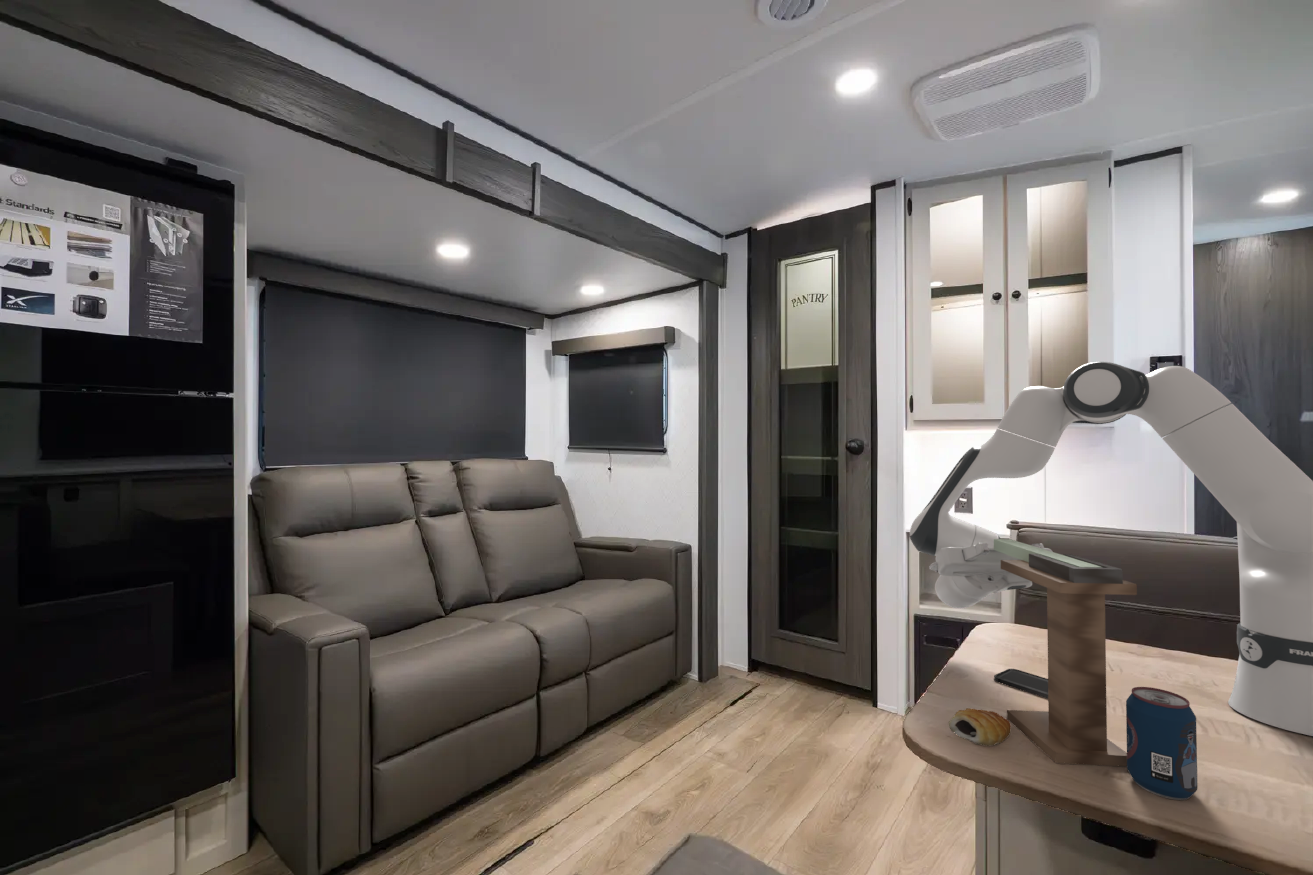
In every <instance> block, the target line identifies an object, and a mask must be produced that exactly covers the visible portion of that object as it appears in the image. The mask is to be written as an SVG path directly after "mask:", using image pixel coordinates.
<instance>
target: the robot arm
mask: <svg viewBox="0 0 1313 875" xmlns="http://www.w3.org/2000/svg"><path fill="white" fill-rule="evenodd" d="M1126 415H1132V416H1136V417H1138V418H1140V419H1142V420H1144V421H1145V422H1146V423H1147V424H1148V425H1149V426H1151V428H1152V429H1153V430H1154V431H1155V432H1156V434H1157V435H1158V436H1159V437H1160V438H1161V439H1162V440H1163V442H1165V443H1166V445H1168V447H1169V448H1170V449H1171V450H1172V451H1173V452H1174V453H1175V455H1176V456H1177V457H1178V458H1179V459H1180V460H1181V461H1182V462H1183V463H1184V464H1185V465H1186V467H1188V469H1189V470H1190V471H1191V472H1192V473H1193V475H1195V476H1196V478H1197V479H1198V480H1199V481H1200V482H1201V483H1202V485H1203V486H1204V487H1205V488H1206V489H1207V491H1209V492H1210V494H1212V496H1213V497H1214V498H1215V499H1216V500H1217V501H1218V502H1219V504H1220V505H1221V506H1222V507H1223V508H1224V509H1225V510H1226V511H1227V513H1228V514H1229V515H1230V516H1231V518H1233V520H1235V521H1236V532H1237V534H1236V535H1237V555H1238V556H1237V557H1238V572H1239V573H1238V574H1239V575H1238V576H1239V611H1240V612H1239V615H1240V616H1239V618H1240V619H1239V620H1240V622H1239V623H1238V624H1237V625H1236V644H1237V647H1238V652H1239V656H1238V662H1237V668H1236V674H1235V680H1234V683H1233V688H1232V692H1231V693H1230V694H1231V695H1229V699H1228V701H1227V703H1228V705H1229V707H1231V708H1232V709H1233V710H1235V711H1236V712H1238V713H1240V714H1242V715H1244V716H1246V717H1248V718H1249V719H1250V718H1251V719H1253V720H1255V721H1258V722H1260V723H1263V724H1267V725H1269V726H1272V727H1275V728H1279V729H1282V730H1286V731H1289V732H1293V733H1297V734H1300V735H1301V734H1303V735H1305V736H1306V735H1307V736H1310V737H1313V479H1311V478H1310V477H1309V476H1308V475H1307V474H1306V473H1305V472H1304V471H1303V470H1302V469H1301V468H1300V467H1298V466H1297V464H1296V463H1294V461H1292V460H1291V458H1289V457H1288V456H1286V454H1284V453H1283V452H1282V450H1281V449H1279V448H1278V447H1277V446H1276V445H1275V444H1273V442H1271V440H1269V438H1267V437H1266V436H1265V434H1264V433H1263V432H1262V431H1261V430H1259V429H1258V428H1257V426H1256V425H1254V423H1253V422H1251V421H1250V419H1248V418H1247V417H1246V415H1244V413H1243V412H1241V411H1240V409H1238V407H1237V406H1235V404H1234V403H1232V402H1231V401H1230V400H1229V398H1228V397H1226V395H1225V394H1223V393H1222V392H1221V391H1219V389H1217V388H1216V387H1215V386H1213V385H1212V384H1211V383H1210V382H1209V381H1207V380H1206V379H1204V378H1203V377H1202V376H1200V375H1199V374H1197V373H1196V372H1194V371H1192V370H1191V369H1189V368H1188V367H1185V366H1182V365H1171V366H1165V367H1161V368H1158V369H1155V370H1154V371H1151V372H1149V373H1147V374H1145V373H1144V372H1142V371H1139V370H1137V369H1132V368H1130V367H1126V366H1123V365H1121V364H1117V363H1114V362H1110V361H1109V362H1108V361H1092V362H1088V363H1085V364H1082V365H1081V366H1079V367H1077V368H1076V369H1074V370H1073V371H1072V372H1070V374H1069V375H1068V376H1067V378H1066V379H1065V381H1064V383H1063V386H1062V387H1057V388H1053V387H1049V386H1044V385H1035V386H1028V387H1026V388H1024V389H1022V390H1020V391H1019V392H1018V394H1017V395H1016V397H1014V399H1013V400H1012V402H1011V403H1010V405H1009V406H1008V408H1007V410H1006V411H1005V412H1004V414H1003V416H1002V419H1001V420H1000V422H999V423H998V426H997V428H996V431H994V433H993V435H992V436H991V437H990V439H988V440H987V441H986V442H985V443H983V444H981V445H980V446H972V447H971V448H969V450H967V451H966V452H965V453H964V454H963V455H962V456H961V457H960V459H959V460H958V462H957V463H956V464H955V466H954V467H953V469H951V471H950V473H949V474H948V475H947V476H946V478H945V479H944V481H943V483H942V484H941V485H940V487H939V488H938V490H936V492H935V493H934V495H933V496H932V497H931V500H929V502H928V503H927V504H926V506H925V507H924V508H923V509H922V511H921V512H920V513H919V514H918V515H917V516H916V517H915V519H914V520H913V522H912V524H911V525H910V530H909V534H908V535H909V539H910V541H911V543H912V545H913V546H914V548H915V549H916V550H917V552H919V553H922V554H926V555H929V556H932V557H935V561H934V562H932V563H930V565H929V566H928V568H929V570H930V571H934V572H935V573H938V574H939V576H938V577H937V579H936V581H935V584H934V591H935V594H936V596H937V598H938V599H939V600H940V601H941V602H942V603H943V604H945V605H947V606H948V607H951V608H953V609H966V608H969V607H973V606H974V605H976V604H977V603H980V602H981V601H983V600H984V599H985V598H986V597H989V596H990V595H992V594H997V593H1001V592H1004V591H1009V590H1010V591H1012V590H1021V589H1027V588H1030V587H1032V586H1033V582H1032V581H1029V580H1027V579H1025V578H1022V577H1020V576H1017V575H1015V574H1012V573H1010V572H1008V571H1005V570H1003V569H1001V560H1021V559H1018V558H1015V557H1012V556H1010V555H1007V554H1004V553H1001V552H998V551H996V550H994V539H1002V538H1001V537H1000V536H999V534H998V533H997V532H994V531H992V530H989V529H986V528H984V527H982V526H979V525H976V524H972V523H970V522H967V521H965V520H962V519H960V518H957V517H956V516H955V517H954V516H952V515H950V513H949V512H950V511H951V509H952V508H953V507H954V505H955V504H956V502H957V501H958V500H959V498H960V496H962V494H963V493H964V491H965V490H966V489H967V487H968V486H969V485H970V484H972V483H973V482H975V481H978V480H982V479H994V478H995V479H1018V478H1019V479H1021V478H1026V477H1031V476H1033V475H1035V474H1037V473H1039V472H1041V471H1042V470H1043V469H1044V468H1045V466H1047V463H1048V462H1049V461H1050V459H1051V457H1052V456H1053V453H1054V451H1055V450H1056V447H1057V445H1058V443H1059V441H1060V439H1061V437H1062V435H1063V433H1064V431H1065V430H1066V429H1067V427H1069V425H1071V424H1091V425H1103V424H1110V423H1113V422H1117V421H1118V420H1120V419H1122V418H1124V417H1125V416H1126ZM1030 545H1031V546H1034V547H1038V548H1041V549H1044V550H1048V551H1051V552H1053V550H1052V549H1051V548H1048V547H1045V546H1044V544H1043V543H1032V544H1030Z"/></svg>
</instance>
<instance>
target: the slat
mask: <svg viewBox="0 0 1313 875" xmlns="http://www.w3.org/2000/svg"><path fill="white" fill-rule="evenodd" d="M1031 545H1032V544H1027V543H1025V542H1020V541H1017V540H1014V539H1009V538H1007V539H1006V538H1004V539H1003V538H1001V539H994V550H996V551H998V552H1001V553H1004V554H1007V555H1010V556H1012V557H1015V558H1018V559H1021V560H1024V561H1026V562H1029V554H1039V555H1042V556H1045V557H1048V558H1051V559H1054V560H1057V561H1060V562H1064V563H1067V564H1070V565H1073V566H1076V567H1094V568H1102V567H1101V566H1097V565H1094V564H1091V563H1087V562H1084V561H1081V560H1077V559H1074V558H1071V557H1068V556H1064V555H1063V554H1061V553H1057V552H1053V551H1052V552H1051V551H1048V550H1044V549H1041V548H1038V547H1034V546H1031Z"/></svg>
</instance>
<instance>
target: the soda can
mask: <svg viewBox="0 0 1313 875" xmlns="http://www.w3.org/2000/svg"><path fill="white" fill-rule="evenodd" d="M1130 693H1131V694H1129V696H1128V698H1127V699H1126V701H1125V707H1126V708H1125V709H1126V710H1125V711H1126V713H1125V714H1126V717H1125V718H1126V721H1125V722H1126V724H1125V725H1126V753H1127V767H1126V768H1127V772H1128V774H1130V776H1131V778H1132V780H1133V781H1134V783H1135V784H1136V785H1138V787H1140V788H1141V789H1143V790H1145V791H1147V792H1149V793H1151V794H1153V795H1156V796H1157V797H1161V798H1165V799H1170V800H1174V801H1175V800H1176V801H1187V800H1188V799H1190V798H1191V797H1193V795H1194V794H1195V793H1196V792H1197V791H1198V753H1197V752H1198V748H1197V746H1198V745H1197V744H1198V743H1197V742H1198V740H1197V739H1198V738H1197V717H1196V715H1195V713H1194V711H1193V709H1192V708H1191V706H1190V705H1191V703H1190V701H1189V700H1188V698H1185V697H1184V696H1182V695H1179V694H1177V693H1175V692H1173V691H1168V690H1165V689H1161V688H1157V687H1150V686H1136V687H1132V688H1131V692H1130Z"/></svg>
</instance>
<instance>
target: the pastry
mask: <svg viewBox="0 0 1313 875" xmlns="http://www.w3.org/2000/svg"><path fill="white" fill-rule="evenodd" d="M948 727H949V729H950V730H951V732H952V731H953V732H955V733H954V735H956V734H957V735H958V736H957V735H956V736H957V737H959V736H960V737H959V738H962V739H964V738H965V739H964V740H967V741H970V742H971V743H974V744H976V745H979V746H983V747H990V746H995V745H996V744H999V745H1000V744H1001V743H1003V742H1004V741H1005V740H1006V739H1008V737H1010V735H1011V729H1012V723H1011V722H1010V721H1009V720H1008V719H1007V718H1005V717H1004V716H1003V715H1000V714H999V713H998V712H995V711H992V710H985V709H977V708H971V707H970V708H969V707H968V708H965V709H964V710H962V709H959V710H957V711H956V712H955V714H954V716H953V717H952V718H950V721H948ZM953 732H952V733H953Z"/></svg>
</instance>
